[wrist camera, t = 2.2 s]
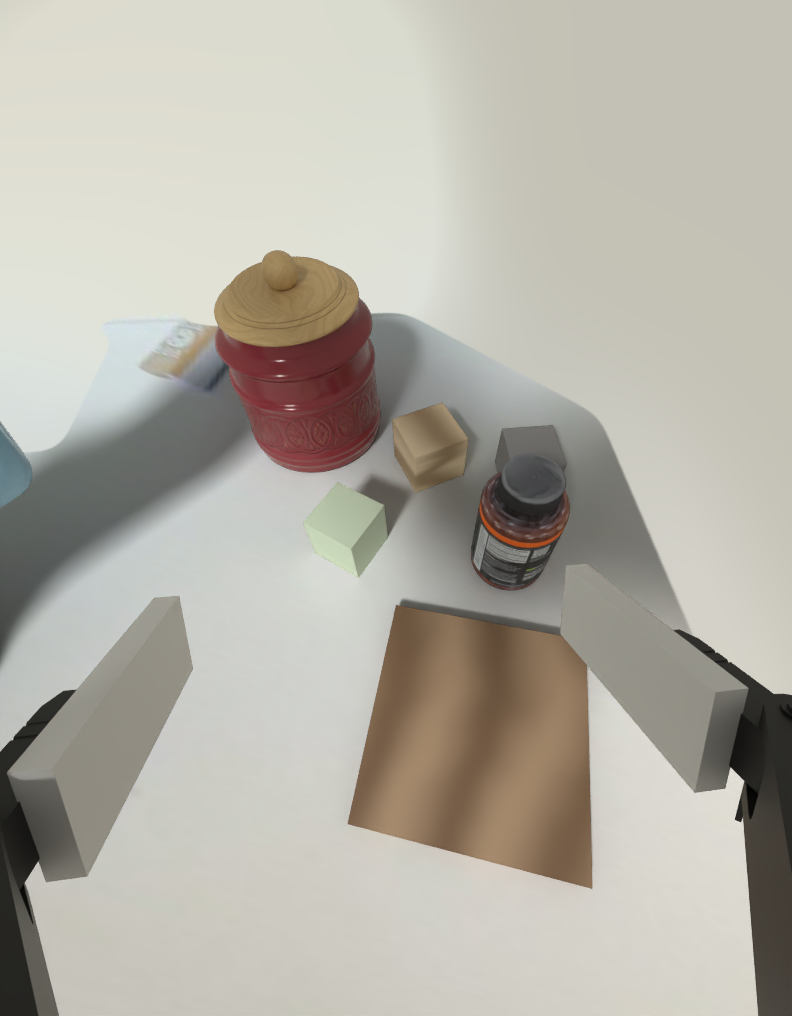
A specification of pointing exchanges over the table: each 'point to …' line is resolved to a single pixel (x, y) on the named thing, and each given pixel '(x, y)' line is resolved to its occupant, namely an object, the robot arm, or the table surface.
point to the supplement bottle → (519, 521)
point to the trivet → (480, 745)
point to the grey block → (529, 444)
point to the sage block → (347, 529)
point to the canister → (301, 361)
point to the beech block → (429, 446)
